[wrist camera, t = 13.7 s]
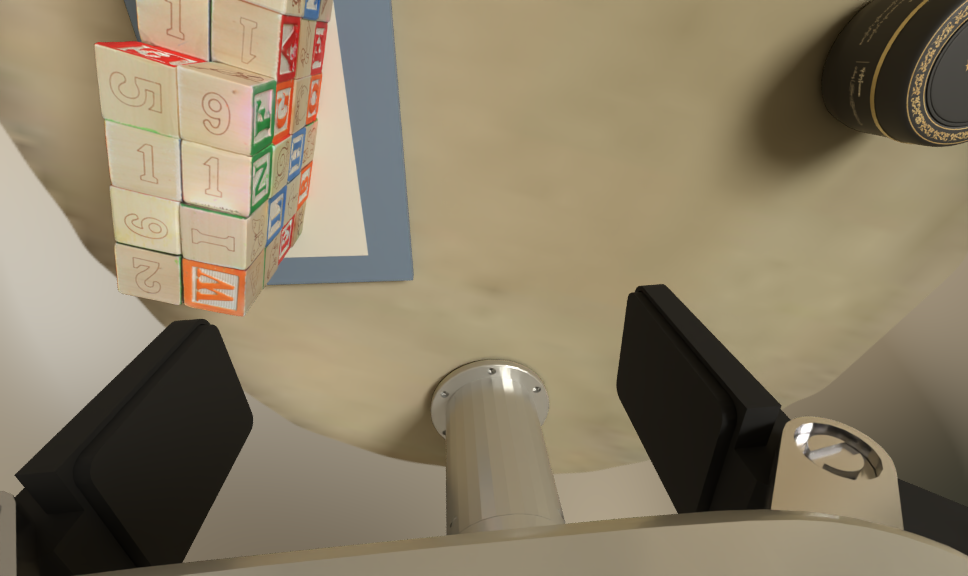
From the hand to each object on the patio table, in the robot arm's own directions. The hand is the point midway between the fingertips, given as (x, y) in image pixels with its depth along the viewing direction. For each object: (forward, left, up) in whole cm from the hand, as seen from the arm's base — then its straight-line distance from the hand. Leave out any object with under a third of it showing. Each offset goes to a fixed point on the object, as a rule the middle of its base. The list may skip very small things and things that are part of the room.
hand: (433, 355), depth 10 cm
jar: (+5, -33, -27) cm, 43 cm away
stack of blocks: (+4, +11, -25) cm, 28 cm away
